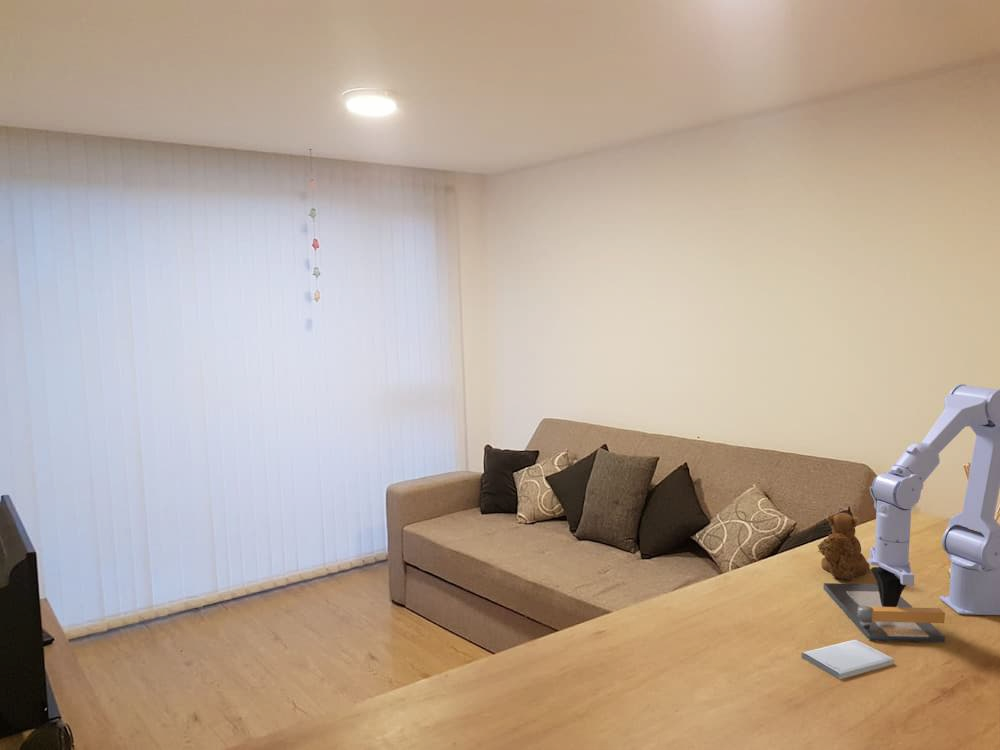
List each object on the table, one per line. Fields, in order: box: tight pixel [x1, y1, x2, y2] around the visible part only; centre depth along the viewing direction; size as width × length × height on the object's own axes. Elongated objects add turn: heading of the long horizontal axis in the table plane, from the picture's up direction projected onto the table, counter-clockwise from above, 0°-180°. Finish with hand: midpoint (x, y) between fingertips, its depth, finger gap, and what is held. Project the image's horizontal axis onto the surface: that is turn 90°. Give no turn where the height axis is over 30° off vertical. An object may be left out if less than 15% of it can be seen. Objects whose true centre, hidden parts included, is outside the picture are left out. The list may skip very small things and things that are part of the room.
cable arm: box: [857, 606, 946, 624], centre depth 139 cm, size 15×3×2 cm, turn 86°
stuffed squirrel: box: [817, 512, 871, 581], centre depth 168 cm, size 10×14×13 cm
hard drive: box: [800, 639, 895, 681], centre depth 129 cm, size 2×8×12 cm
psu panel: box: [823, 582, 946, 643], centre depth 147 cm, size 13×24×2 cm, turn 176°
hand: (888, 607), depth 143 cm, fingers closed
